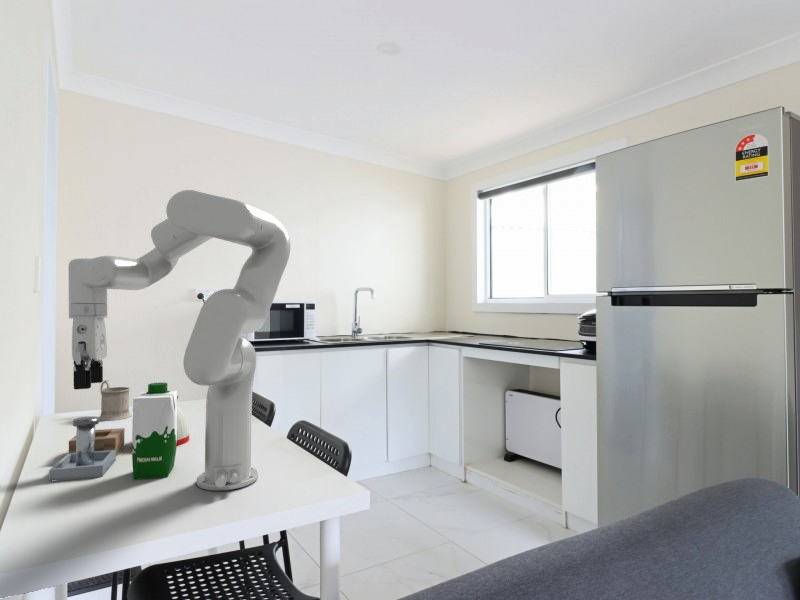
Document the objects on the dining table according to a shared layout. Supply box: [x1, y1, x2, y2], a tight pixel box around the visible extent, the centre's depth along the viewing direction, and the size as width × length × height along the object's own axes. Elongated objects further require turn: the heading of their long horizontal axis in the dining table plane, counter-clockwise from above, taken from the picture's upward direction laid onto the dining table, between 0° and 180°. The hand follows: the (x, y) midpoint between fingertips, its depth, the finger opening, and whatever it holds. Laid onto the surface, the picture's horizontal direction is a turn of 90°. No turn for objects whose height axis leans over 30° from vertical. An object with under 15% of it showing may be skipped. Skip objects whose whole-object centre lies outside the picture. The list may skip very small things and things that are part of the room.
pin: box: [72, 416, 100, 466], centre depth 109 cm, size 5×5×11 cm
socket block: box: [68, 427, 126, 457], centre depth 122 cm, size 10×10×5 cm
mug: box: [98, 379, 133, 422], centre depth 163 cm, size 14×10×12 cm
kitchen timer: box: [177, 395, 190, 447], centre depth 133 cm, size 14×14×15 cm
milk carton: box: [131, 382, 178, 481], centre depth 108 cm, size 9×9×20 cm
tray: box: [48, 450, 117, 482], centre depth 109 cm, size 12×10×2 cm
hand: (88, 385), depth 110 cm, fingers open, 9 cm apart
